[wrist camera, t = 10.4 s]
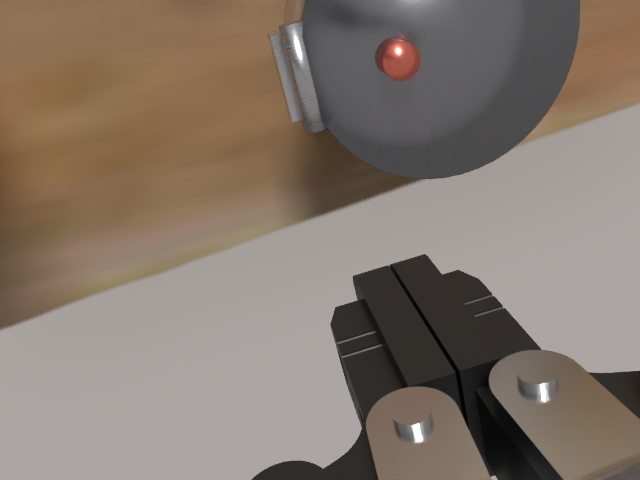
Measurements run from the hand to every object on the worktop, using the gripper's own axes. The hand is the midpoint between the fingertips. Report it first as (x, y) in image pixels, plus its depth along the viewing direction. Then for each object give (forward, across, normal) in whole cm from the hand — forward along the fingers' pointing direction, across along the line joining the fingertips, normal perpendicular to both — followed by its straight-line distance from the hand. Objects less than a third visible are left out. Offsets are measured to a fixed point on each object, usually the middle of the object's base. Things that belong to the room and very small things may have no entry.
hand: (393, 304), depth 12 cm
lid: (+25, -10, -2) cm, 27 cm away
